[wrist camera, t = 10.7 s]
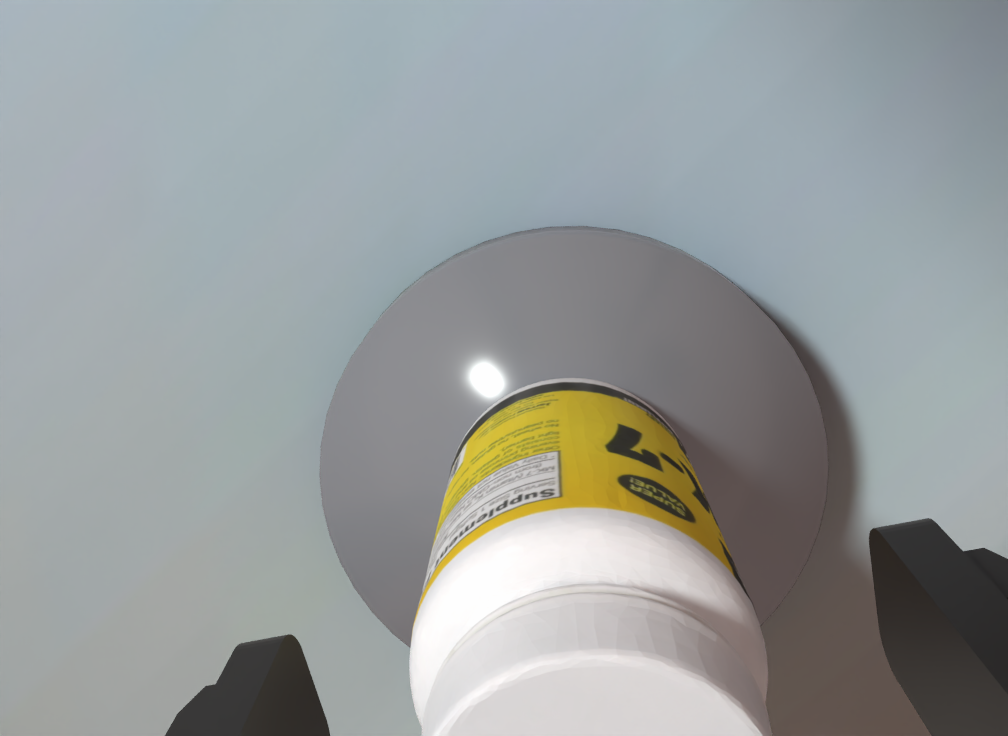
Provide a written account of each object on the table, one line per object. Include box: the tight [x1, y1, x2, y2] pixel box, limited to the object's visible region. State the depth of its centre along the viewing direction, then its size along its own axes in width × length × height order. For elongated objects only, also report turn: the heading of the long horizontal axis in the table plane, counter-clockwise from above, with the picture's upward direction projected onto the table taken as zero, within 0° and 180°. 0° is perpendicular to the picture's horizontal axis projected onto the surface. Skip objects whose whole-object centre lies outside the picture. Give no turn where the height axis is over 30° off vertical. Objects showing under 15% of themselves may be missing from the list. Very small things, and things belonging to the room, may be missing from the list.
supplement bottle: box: [409, 378, 773, 736], centre depth 13 cm, size 5×5×8 cm
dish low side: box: [320, 226, 829, 648], centre depth 18 cm, size 10×10×1 cm
